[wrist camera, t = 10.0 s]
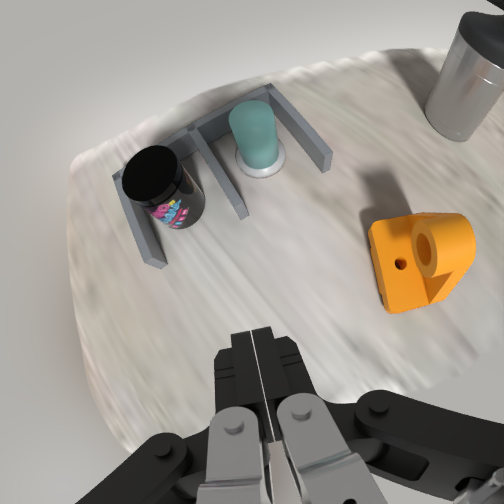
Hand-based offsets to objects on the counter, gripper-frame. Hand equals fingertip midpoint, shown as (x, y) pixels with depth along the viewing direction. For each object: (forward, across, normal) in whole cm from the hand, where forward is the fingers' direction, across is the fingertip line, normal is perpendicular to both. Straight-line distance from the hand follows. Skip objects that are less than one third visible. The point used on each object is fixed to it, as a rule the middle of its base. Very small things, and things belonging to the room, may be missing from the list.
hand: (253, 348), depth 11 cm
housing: (+31, 0, -4) cm, 32 cm away
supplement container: (+31, +6, -1) cm, 31 cm away
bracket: (+19, -19, +9) cm, 29 cm away
